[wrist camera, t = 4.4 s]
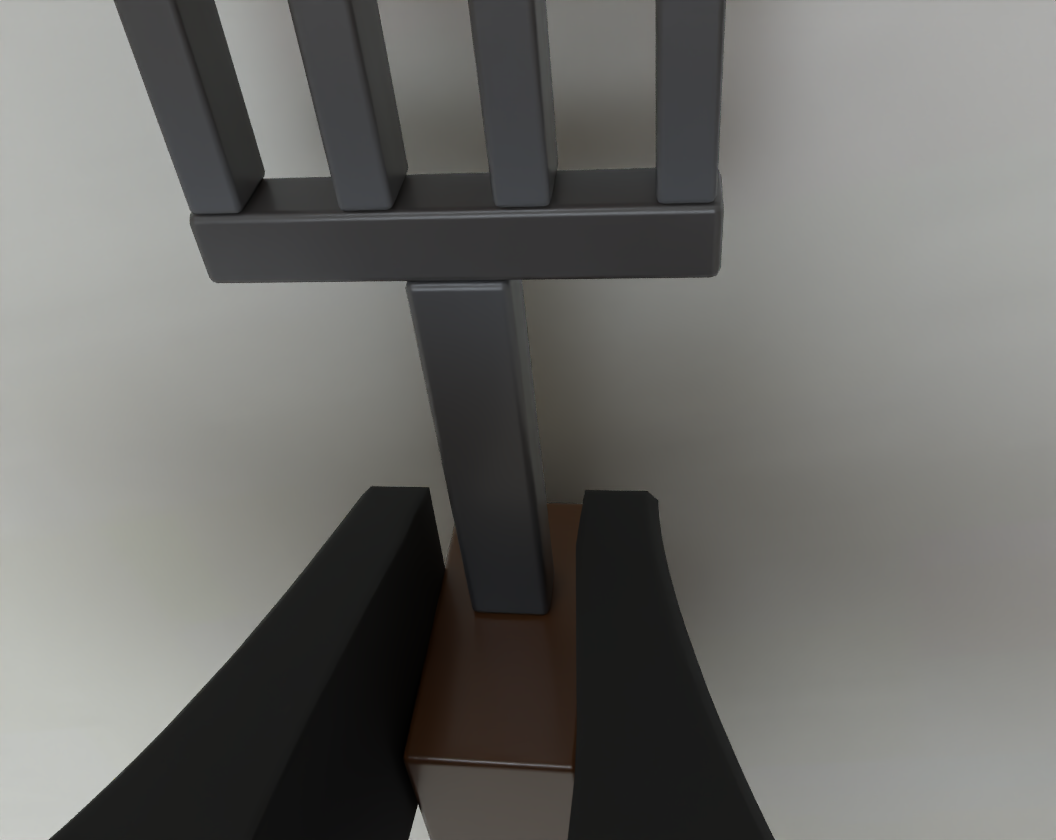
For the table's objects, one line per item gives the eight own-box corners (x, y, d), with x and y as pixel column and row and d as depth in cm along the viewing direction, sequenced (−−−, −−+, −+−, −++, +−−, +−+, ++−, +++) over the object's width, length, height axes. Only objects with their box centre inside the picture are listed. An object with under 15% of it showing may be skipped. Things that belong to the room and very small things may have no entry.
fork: (686, 806, 15) (688, 1037, 13) (450, 790, 16) (412, 1010, 13) (733, -294, 6) (770, -178, 4) (149, -239, 6) (-150, -109, 4)
